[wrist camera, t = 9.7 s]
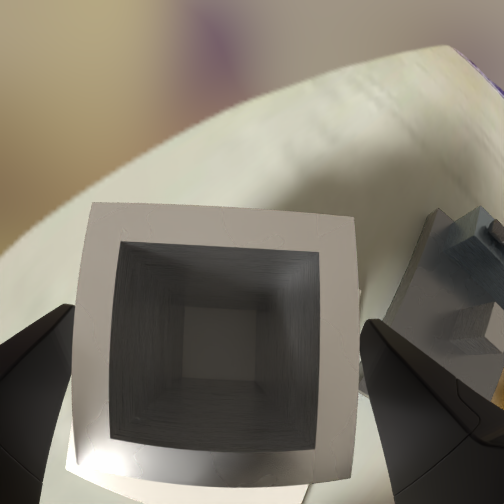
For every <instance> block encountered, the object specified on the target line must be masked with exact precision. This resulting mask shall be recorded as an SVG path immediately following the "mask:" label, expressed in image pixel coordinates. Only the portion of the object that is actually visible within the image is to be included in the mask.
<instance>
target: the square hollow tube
mask: <svg viewBox="0 0 504 504" xmlns="http://www.w3.org/2000/svg"><path fill="white" fill-rule="evenodd" d="M185 306H186V307H202V308H219V309H240V310H257V311H256V346H255V379H254V381H246V380H218V379H201V378H187V377H182V359H183V335H184V316H185ZM359 349H360V322H359V284H358V264H357V249H356V235H355V224H354V217H349V216H339V215H328V214H317V213H305V212H293V211H280V210H267V209H252V208H236V207H219V206H199V205H177V204H148V203H102V202H92V206H91V211H90V216H89V220H88V225H87V230H86V235H85V241H84V246H83V252H82V258H81V265H80V271H79V279H78V286H77V295H76V304H75V315H74V327H73V344H72V417H73V433H74V445H75V454H76V463H77V465H81V466H84V467H88V468H92V469H95V470H99V471H103V472H108V473H112V474H117V475H121V476H126V477H131V478H137V479H143V480H149V481H155V482H163V483H170V484H179V485H190V486H203V487H224V488H261V487H282V486H295V485H305V484H314V483H322V482H330V481H336V480H342V479H348V478H351V471H352V463H353V454H354V444H355V433H356V420H357V406H358V386H359Z"/></svg>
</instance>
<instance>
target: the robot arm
mask: <svg viewBox="0 0 504 504" xmlns="http://www.w3.org/2000/svg"><path fill="white" fill-rule="evenodd" d="M74 315H75V305H71V304H62V305H60V306H59V307H57V308H56V309H54V310H53V311H51V312H49V313H48V314H46V315H45V316H43V317H42V318H40V319H39V320H37V321H35V322H34V323H32V324H31V325H29V326H28V327H26V328H25V329H23V330H22V331H20V332H19V333H17V334H16V335H14V336H13V337H11V338H10V339H8V340H7V341H5V342H4V343H2V344H1V345H0V504H39V502H40V496H41V490H42V485H43V483H42V482H43V478H44V473H45V468H46V464H47V459H48V455H49V450H50V446H51V442H52V438H53V434H54V430H55V427H56V423H57V419H58V416H59V412H60V409H61V406H62V402H63V399H64V396H65V392H66V389H67V386H68V383H69V380H70V377H71V374H72V344H73V327H74ZM359 351H360V356H361V362H362V368H363V373H364V379H365V384H366V388H367V392H368V395H369V399H370V403H371V406H372V410H373V413H374V417H375V421H376V424H377V428H378V432H379V436H380V440H381V444H382V448H383V452H384V456H385V460H386V464H387V469H388V473H389V477H390V482H391V486H392V491H393V496H394V501H395V504H504V410H503V409H501V408H499V407H498V406H496V405H495V404H493V403H492V402H490V401H489V400H487V399H486V398H484V397H483V396H481V395H480V394H478V393H477V392H475V391H474V390H473V389H471V388H470V387H469V386H467V385H466V384H465V383H463V382H462V381H461V380H460V379H458V378H456V376H454V375H453V374H452V373H450V372H449V371H448V370H446V369H445V368H444V367H442V366H441V365H440V364H439V363H437V362H436V361H435V360H433V359H432V358H431V357H429V356H428V355H427V354H425V353H424V352H423V351H421V350H420V349H419V348H417V347H416V346H415V345H413V344H412V343H411V342H409V341H408V340H407V339H405V338H404V337H403V336H401V335H400V334H399V333H397V332H396V331H395V330H393V329H392V328H391V327H389V326H388V325H387V324H385V323H384V322H383V321H381V320H380V319H368V320H366V322H365V324H364V326H363V329H362V332H361V334H360V349H359Z"/></svg>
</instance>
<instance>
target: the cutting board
mask: <svg viewBox="0 0 504 504" xmlns="http://www.w3.org/2000/svg"><path fill="white" fill-rule="evenodd" d="M360 293H361V290H360V289H359V299H360ZM256 311H257V310H240V309H219V308H202V307H186V306H185V316H184V335H183V359H182V377H187V378H201V379H218V380H246V381H254V379H255V346H256ZM66 470H68V471H70V472H72V473H74V474H76V475H78V476H80V477H82V478H84V479H86V480H88V481H90V482H92V483H94V484H97V485H99V486H101V487H103V488H106V489H108V490H110V491H113V492H115V493H118V494H120V495H123V496H125V497H128V498H130V499H133V500H136V501H139V502H141V503H144V504H301V503H302V501H303V498H304V496H305V493H306V490H307V488H308V485H309V484H305V485H295V486H282V487H261V488H224V487H203V486H190V485H179V484H170V483H163V482H155V481H149V480H143V479H137V478H131V477H126V476H121V475H117V474H112V473H108V472H103V471H99V470H95V469H92V468H88V467H84V466H81V465H77V463H76V454H75V445H74V433H73V420H72V426H71V432H70V439H69V446H68V453H67V461H66Z"/></svg>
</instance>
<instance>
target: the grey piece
mask: <svg viewBox="0 0 504 504" xmlns="http://www.w3.org/2000/svg"><path fill="white" fill-rule="evenodd" d="M383 322H384V323H385V324H387V325H388V326H389V327H391V328H392V329H393V330H395V331H396V332H397V333H399V334H400V335H401V336H403V337H404V338H405V339H407V340H408V341H409V342H411V343H412V344H413V345H415V346H416V347H417V348H419V349H420V350H421V351H423V352H424V353H425V354H427V355H428V356H429V357H431V358H432V359H433V360H435V361H436V362H437V363H439V364H440V365H441V366H442V367H444V368H445V369H446V370H448V371H449V372H450V373H452V374H453V375H454V376H456V378H458V379H460V380H461V381H462V382H463V383H465V384H466V385H467V386H469V387H470V388H471V389H473V390H474V391H475V392H477V393H478V394H480V395H481V396H483V397H484V398H486V399H487V400H489V401H491V399H492V396H493V394H494V392H495V389H496V386H497V384H498V381H499V378H500V376H501V373H502V370H503V367H504V227H503V226H502V224H501V223H500V222H499V221H498V220H497V219H494V218H493V217H492V216H491V215H490V214H489V213H488V212H487V211H486V210H485V209H484V208H483V207H482V206H479V207H477V208H476V209H474V210H473V211H471V212H470V213H468V214H466V215H465V216H463V217H462V218H460V219H458V220H457V221H455V222H454V221H453V220H452V219H451V218H450V217H448V216H447V215H446V214H445V213H444V212H443V211H441V210H440V209H439V208H438V209H436V210H435V211H434V212H432V213H431V214H429V215H428V216H427V219H426V222H425V225H424V227H423V230H422V233H421V235H420V238H419V241H418V243H417V246H416V248H415V251H414V253H413V256H412V258H411V260H410V263H409V265H408V268H407V270H406V272H405V274H404V277H403V279H402V281H401V283H400V286H399V288H398V290H397V292H396V294H395V297H394V299H393V301H392V303H391V305H390V307H389V309H388V311H387V313H386V315H385V317H384V319H383ZM358 392H359V393H360V394H362V395H364V396H365V397H367V398H369V395H368V392H367V388H366V384H365V379H364V373H363V368H362V362H360V364H359V386H358Z"/></svg>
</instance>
